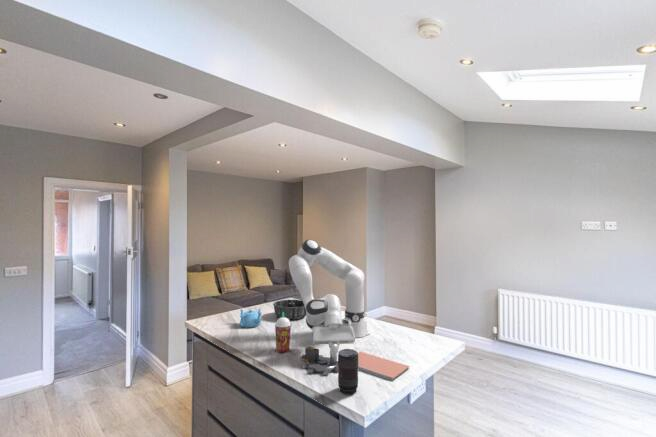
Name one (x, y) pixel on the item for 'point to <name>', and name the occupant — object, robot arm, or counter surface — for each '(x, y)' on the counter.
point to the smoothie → (282, 334)
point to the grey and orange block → (312, 354)
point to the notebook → (380, 366)
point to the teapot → (250, 318)
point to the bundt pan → (290, 309)
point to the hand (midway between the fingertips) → (334, 352)
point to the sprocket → (324, 362)
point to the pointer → (303, 357)
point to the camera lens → (348, 371)
